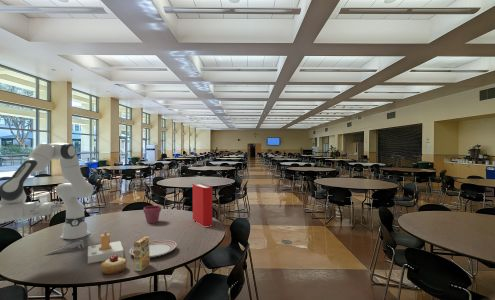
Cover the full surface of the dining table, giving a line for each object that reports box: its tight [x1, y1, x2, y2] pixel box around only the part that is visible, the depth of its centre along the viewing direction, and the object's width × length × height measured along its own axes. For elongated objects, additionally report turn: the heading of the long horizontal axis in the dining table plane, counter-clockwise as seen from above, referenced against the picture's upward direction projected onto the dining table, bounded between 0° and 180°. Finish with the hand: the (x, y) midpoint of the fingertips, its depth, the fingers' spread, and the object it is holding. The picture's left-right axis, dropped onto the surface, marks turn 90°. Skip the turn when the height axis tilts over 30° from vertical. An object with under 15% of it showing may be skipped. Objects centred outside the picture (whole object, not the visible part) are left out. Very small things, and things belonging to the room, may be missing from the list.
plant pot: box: [143, 205, 162, 224], centre depth 236 cm, size 14×14×13 cm
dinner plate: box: [128, 239, 178, 259], centre depth 168 cm, size 28×27×3 cm
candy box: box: [133, 236, 151, 272], centre depth 145 cm, size 9×4×15 cm, turn 171°
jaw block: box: [100, 230, 111, 251], centre depth 163 cm, size 4×4×13 cm
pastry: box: [100, 255, 128, 275], centre depth 143 cm, size 12×12×9 cm
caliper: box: [44, 239, 85, 256], centre depth 169 cm, size 20×1×6 cm, turn 125°
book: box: [192, 183, 213, 226], centre depth 231 cm, size 27×8×32 cm, turn 30°
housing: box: [87, 240, 124, 264], centre depth 163 cm, size 18×18×5 cm
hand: (61, 207), depth 159 cm, fingers open, 8 cm apart
